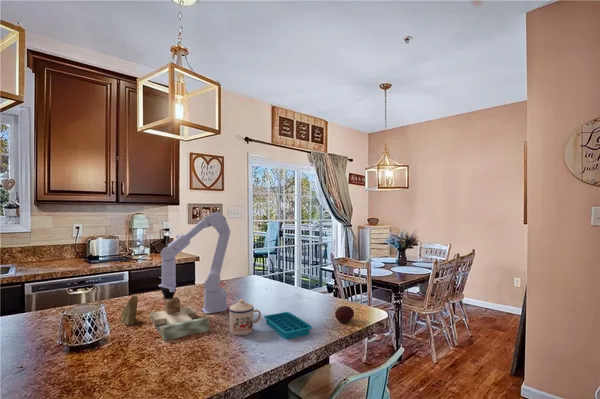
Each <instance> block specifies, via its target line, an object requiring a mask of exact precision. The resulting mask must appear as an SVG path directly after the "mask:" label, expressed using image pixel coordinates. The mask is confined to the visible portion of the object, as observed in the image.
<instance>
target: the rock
mask: <svg viewBox="0 0 600 399" xmlns="http://www.w3.org/2000/svg"><path fill="white" fill-rule="evenodd" d="M138 300H139V297H138V296H137V295H135V294H134V295H132V296H130V299H129V300H128V302H127V303H126V305H125V306H124V308H123V310H122V313H121V318H120V321H121V322H122V323H124V324H125V325H127V326H132V325H135V322H136V317H137V311H138Z"/></svg>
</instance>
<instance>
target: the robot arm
mask: <svg viewBox="0 0 600 399" xmlns="http://www.w3.org/2000/svg"><path fill="white" fill-rule="evenodd" d="M210 227H213V228H214V229H215V230H216V232H217V233H218V234H219V235H218V239H217V242H216V246H215V252H214V255H213V258H212V262H211V266H210V269H209V273H208V276H207V277H206V280H205V281H204V284H203V286H204V291H203V297H204V298H203V307H202V308H200V310H201V311H203V313H205V314H206V315H210V314H213V313H219V312H225V311H227V310H228V307H227V303H228V302H227V301H228V300H227V298H228V297H227V296H228V295H227V292H226V289H224V288H221V287H220V284H221V271H222V268H223V263H224V259H225V255H226V253H227V252H226V251H227V248H228V243H229V240H230V237H231V236H230V235H231V229H230V226H229V223H228V221H227V218H226V217H225V215H224V214H223V213H221V212H220V211H215V212H211V213H210V214H209V215H208V216H206V217H204V218H203V219H201V220H199V222H197V223H196V225H194V226H193V227H192V228H191V229H189V231H188V232H186V233H185V234H183V233H181V234H178V235H176V236H175V239H173V241H171V242H168V244H167V246H165V247H163V248H162V249H161V251H160V254H159V256H160V258H161V283H160V284H158V287H159V288H160V291H161V293H162V295H163V299H164V301H165V299H168V298H174V295H175V293H176V291H177V288H176V287H177V283H176V281H177V280H176V278H177V276H176V272H177V271H176V268H177V266H176V257H177V256H178V254H180V253H181V252H182V251H183V250H184V249H185V248H187V247H188V246H189V245H191V239H193V238H194V237H195V236H196V235H198V234H199V233H201V231H202V230H204V229H206V228H210Z"/></svg>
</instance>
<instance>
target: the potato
mask: <svg viewBox="0 0 600 399" xmlns="http://www.w3.org/2000/svg"><path fill="white" fill-rule="evenodd" d="M334 316H335V319H336V320H337V321H338V322H340V323H347V322H349V321H352V319H353V318H354V316H355V310H354V309H353V308H352V307H351V306H348V305H342V306H340V307H338V308H337V309H336V310H335V313H334Z"/></svg>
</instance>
